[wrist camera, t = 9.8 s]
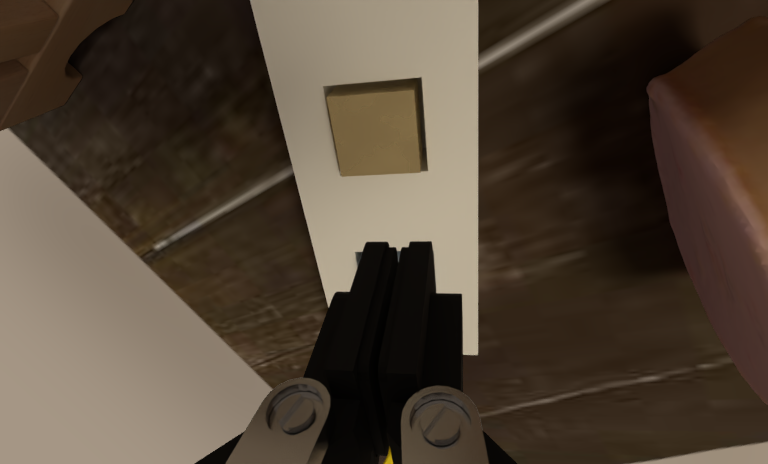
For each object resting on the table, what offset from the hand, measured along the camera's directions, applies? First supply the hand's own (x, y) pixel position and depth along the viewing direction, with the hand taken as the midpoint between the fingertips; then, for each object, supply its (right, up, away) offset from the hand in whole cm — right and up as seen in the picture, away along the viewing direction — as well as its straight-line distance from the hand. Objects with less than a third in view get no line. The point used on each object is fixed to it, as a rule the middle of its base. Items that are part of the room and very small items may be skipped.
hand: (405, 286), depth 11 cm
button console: (0, +6, +23) cm, 23 cm away
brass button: (-1, +9, +16) cm, 18 cm away
